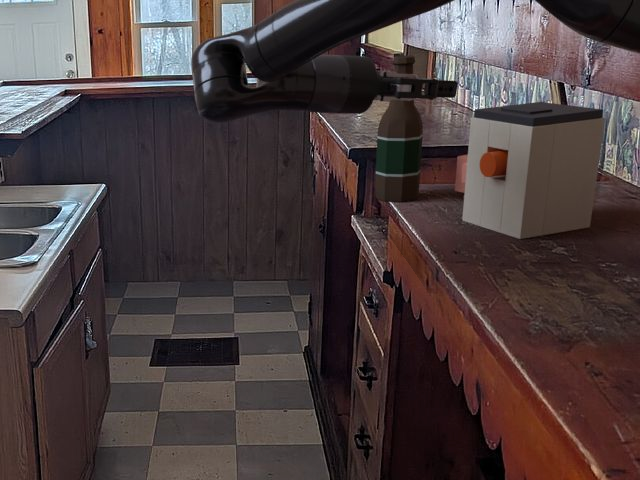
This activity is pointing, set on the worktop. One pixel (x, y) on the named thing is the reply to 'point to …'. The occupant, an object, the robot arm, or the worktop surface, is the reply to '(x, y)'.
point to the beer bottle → (399, 146)
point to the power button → (494, 163)
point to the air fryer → (534, 168)
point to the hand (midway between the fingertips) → (437, 87)
